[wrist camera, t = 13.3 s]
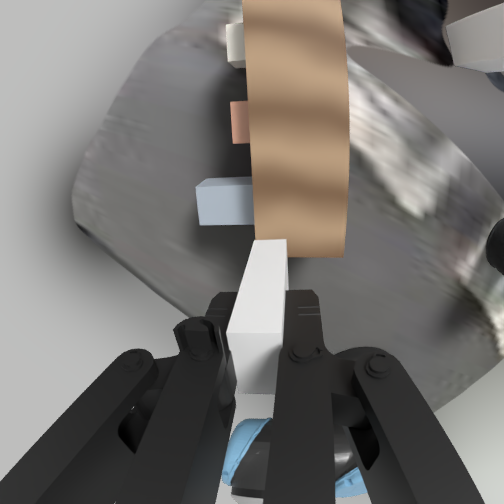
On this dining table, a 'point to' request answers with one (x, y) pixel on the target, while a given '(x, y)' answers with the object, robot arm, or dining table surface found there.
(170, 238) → the dining table surface
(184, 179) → the dining table surface
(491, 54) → the milk
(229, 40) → the cream button
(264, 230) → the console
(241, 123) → the salmon pink block
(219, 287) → the dining table surface
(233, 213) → the slate button
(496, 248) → the milk frother
